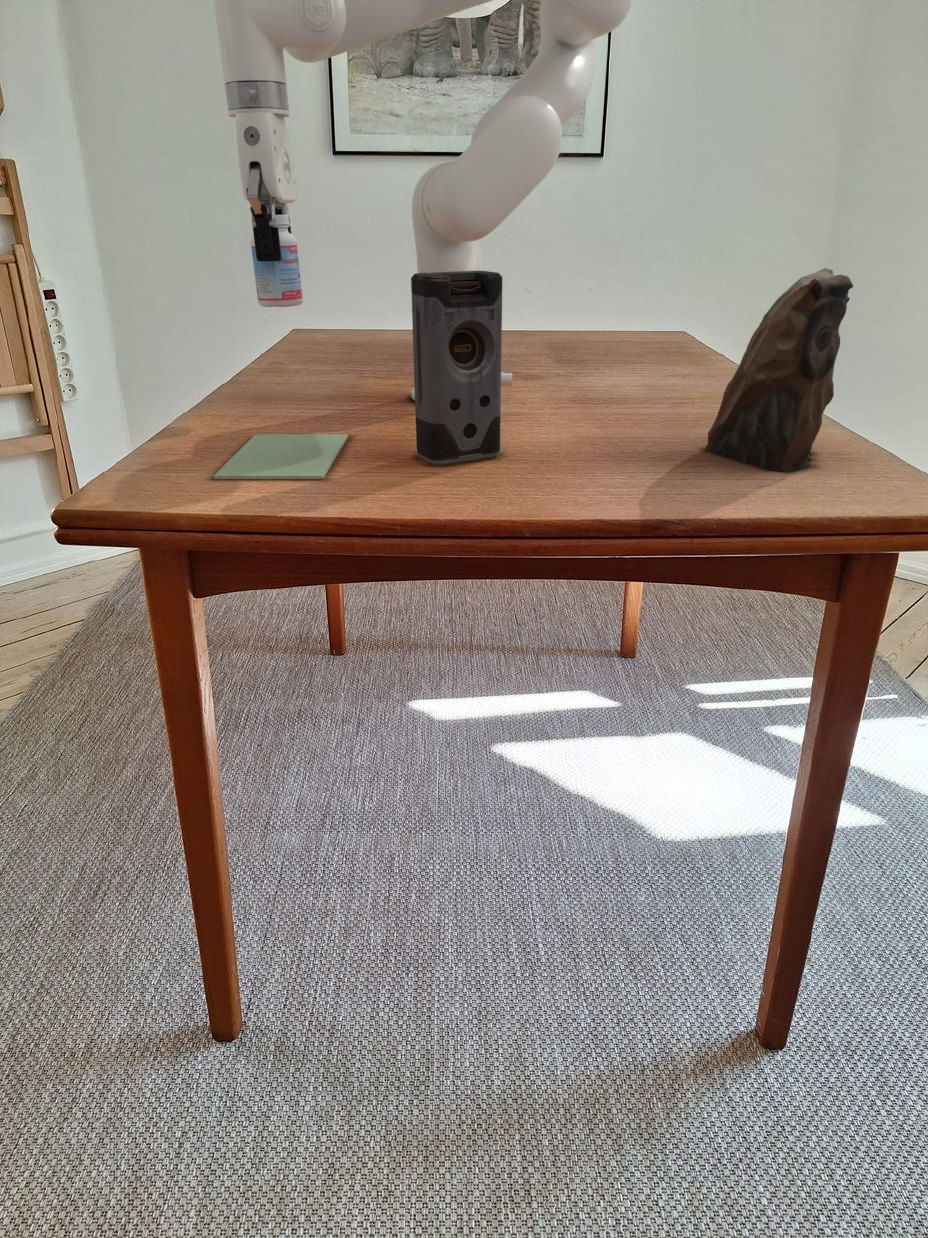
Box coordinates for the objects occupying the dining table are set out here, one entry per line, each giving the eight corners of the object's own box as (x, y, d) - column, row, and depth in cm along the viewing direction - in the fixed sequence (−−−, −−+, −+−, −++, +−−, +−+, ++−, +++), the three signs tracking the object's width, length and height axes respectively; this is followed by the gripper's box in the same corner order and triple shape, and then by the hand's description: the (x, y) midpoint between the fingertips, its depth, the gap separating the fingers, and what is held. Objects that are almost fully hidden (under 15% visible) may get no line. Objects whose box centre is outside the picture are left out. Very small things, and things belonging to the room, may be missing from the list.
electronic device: (433, 468, 92) (429, 276, 83) (412, 455, 96) (405, 273, 87) (505, 457, 95) (508, 273, 86) (481, 445, 100) (481, 269, 91)
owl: (789, 439, 102) (820, 266, 92) (861, 467, 91) (903, 273, 82) (700, 448, 98) (723, 269, 89) (763, 478, 88) (796, 277, 78)
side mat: (348, 437, 104) (347, 434, 104) (323, 479, 88) (322, 475, 88) (255, 437, 105) (255, 434, 104) (213, 479, 89) (213, 475, 88)
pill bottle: (292, 308, 109) (282, 214, 104) (251, 307, 111) (238, 215, 105) (310, 302, 115) (301, 213, 109) (270, 302, 116) (259, 214, 111)
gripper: (269, 93, 94) (288, 263, 102) (302, 108, 109) (316, 254, 117) (206, 95, 94) (229, 264, 102) (247, 110, 110) (265, 255, 118)
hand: (275, 257), depth 110 cm, fingers closed on pill bottle, 6 cm apart
